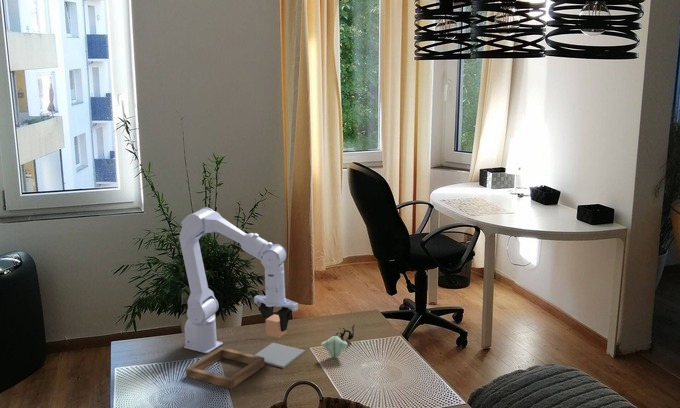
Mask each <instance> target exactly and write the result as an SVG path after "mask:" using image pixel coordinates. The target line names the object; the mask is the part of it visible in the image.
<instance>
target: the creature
mask: <svg viewBox="0 0 680 408" xmlns="http://www.w3.org/2000/svg"><path fill="white" fill-rule="evenodd" d="M355 325H356V324H353V325H352V327H351V328H352V331H351V330H348V329H346V328H344V327H342V329H343V331H342V332H337V333H335V334H333V335H332V336H337V335H339V338H340V337H341V338H340V339H341V340H343V339H344V336H345V335H346V333H348V337H347V338H346V337H345V339H346V340H345V342H347V343H348V340H349V341H350V342H351V340H352V339H354V335H355V330H354V328H355ZM338 330H341V328H340V327H338ZM340 335H341V336H340Z"/></svg>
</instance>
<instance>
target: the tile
mask: <svg viewBox="0 0 680 408" xmlns="http://www.w3.org/2000/svg"><path fill="white" fill-rule="evenodd" d="M304 353H306V349H301V348H297V347H293V346H288V345H285V344H280V343H276V342H272V343H270V344H269V345H267V346H265V347H264V348H262V349H261V350H259V351H258V352H257V353H255V354H254V355H256V356H260V357H264V361H265V365H270V366H272V367H273V366H274V367H278V368H282V369H285V368H286V367H288V366H289V365H290V364H291V363H292V362H294V361H295V360H296V359H298V358H299V357H301V356H302V355H303V354H304Z"/></svg>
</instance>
